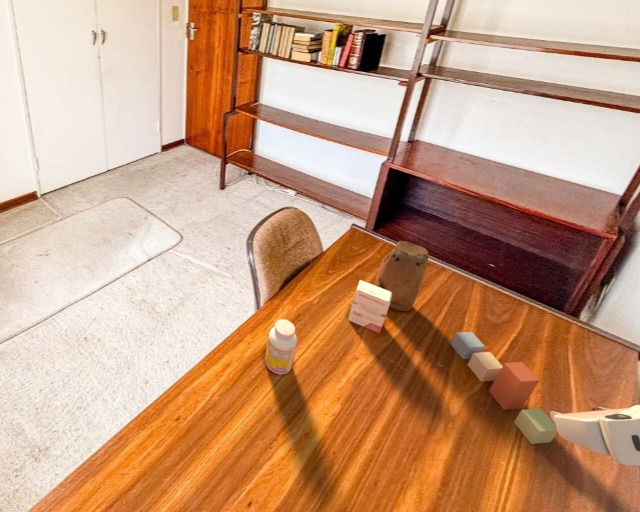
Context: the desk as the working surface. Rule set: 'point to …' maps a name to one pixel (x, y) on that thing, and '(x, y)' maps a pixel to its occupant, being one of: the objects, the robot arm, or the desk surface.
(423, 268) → the brown tall rounded lump
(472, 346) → the cube
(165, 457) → the desk surface
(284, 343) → the supplement bottle
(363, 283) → the ink box
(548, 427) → the cube
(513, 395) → the tall block
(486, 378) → the cube
